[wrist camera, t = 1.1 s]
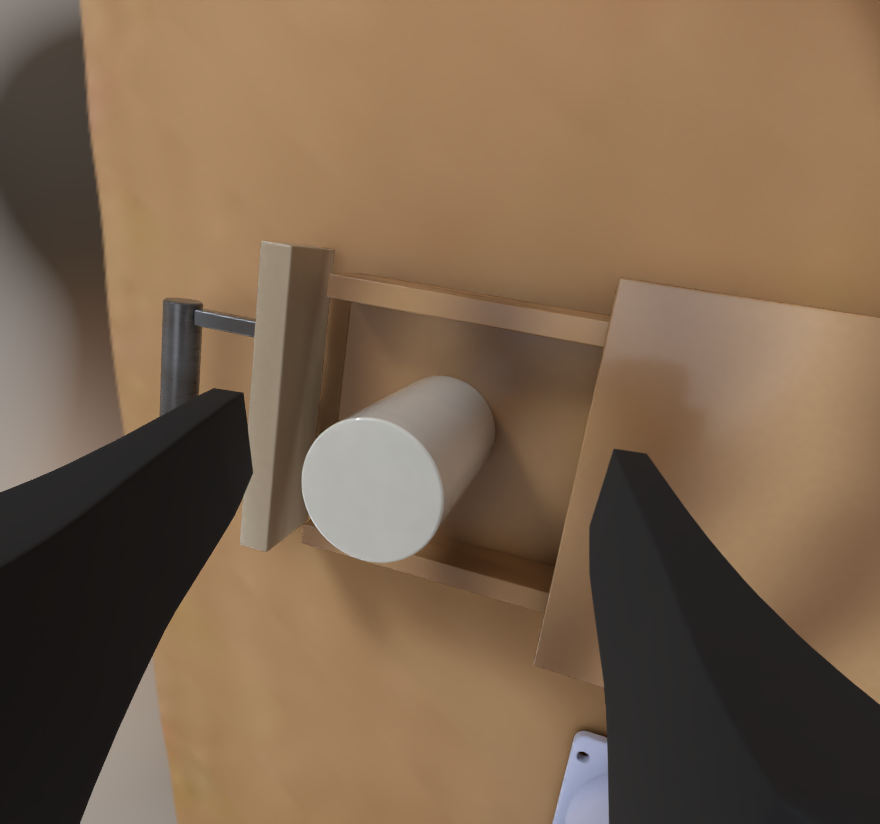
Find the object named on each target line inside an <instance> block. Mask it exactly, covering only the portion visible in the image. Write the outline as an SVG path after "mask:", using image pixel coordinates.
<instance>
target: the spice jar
mask: <svg viewBox="0 0 880 824" xmlns="http://www.w3.org/2000/svg"><path fill="white" fill-rule="evenodd" d="M494 442H495V422H494V418H493V414H492V412H491V409H490V407H489V405H488V404H487V402H486V400H485V399H484V398H483V396H482V395H481V394H480V393H479V392H478V391H477V390H476V389H475V388H473V387H472V386H471V385H469V384H468V383H466V382H464V381H462V380H460V379H457V378H454V377H450V376H437V375H436V376H429V377H425V378H422V379H420V380H417V381H415V382H413V383H412V384H410V385H408V386H406V387H404V388H402V389H400V390H398V391H396V392H394V393H393V394H391V395H389V396H387V397H385V398H383V399H381V400H379V401H377V402H375V403H373V404H372V405H370V406H368V407H366V408H364V409H362V410H360V411H358V412H356V413H354V414H352V415H351V416H349V417H347V418H345V419H343V420H341V421H339V422H337V423H335V424H334V425H332V426H330V427H329V428H327V429H326V430H325V431H324V432H322V433H321V434H320V435H319V436H318V437H317V439H316V440H315V441H314V442H313V444H312V445H311V447H310V449H309V451H308V453H307V455H306V458H305V461H304V465H303V470H302V482H301V484H302V494H303V498H304V503H305V506H306V508H307V511H308V513H309V515H310V518H311V520H312V521H313V523H314V524H315V526H316V528H317V529H318V530H319V531H320V533H321V534H322V535H323V536H324V537H325V538H326V539H327V540H328V541H329V542H330V543H331V544H332V545H334V546H335V547H336V548H337V549H339V550H341V551H342V552H344V553H346V554H348V555H350V556H352V557H354V558H357V559H360V560H363V561H368V562H375V563H389V562H394V561H399V560H402V559H405V558H408V557H410V556H412V555H414V554H415V553H417V552H418V551H420V550H421V549H422V548H423V547H425V546H426V545H427V544H428V543H429V541H430V540H431V539H432V538H433V536H434V535H435V533H436V532H437V531H438V529H439V528H440V526H441V525H442V524H443V522H444V521H445V519H446V518H447V516H448V515H449V514H450V512H451V511H452V509H453V508H454V506H455V505H456V504H457V502H458V501H459V499H460V498H461V496H462V495H463V494H464V492H465V491H466V489H467V488H468V487H469V485H470V484H471V482H472V481H473V479H474V478H475V477H476V475H477V474H478V472H479V471H480V469H481V468H482V467H483V465H484V464H485V462H486V461H487V459H488V458H489V456H490V454H491V452H492V449H493V446H494Z"/></svg>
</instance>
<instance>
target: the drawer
mask: <svg viewBox="0 0 880 824" xmlns="http://www.w3.org/2000/svg"><path fill="white" fill-rule="evenodd" d="M334 253H335V251H334V250H333V249H329V248H323V247H317V246H310V245H302V244H292V243H282V242H272V241H261V249H260V263H259V278H258V292H257V306H256V319H252V318H247V317H242V316H237V315H232V314H227V313H222V312H217V311H212V310H207V309H203V303H202V302H200V301H196V300H191V299H184V298H166V299H164V300H163V322H162V356H161V390H160V416H162V415H164V414H166V413H167V412H169V411H171V410H173V409H175V408H177V407H178V406H180V405H182V404H184V403H186V402H187V401H189V400H191V399H193V398H195V397H197V396H199V383H200V362H201V340H202V327H206V328H210V329H215V330H220V331H225V332H230V333H235V334H239V335H244V336H249V337H254V349H253V364H252V378H251V392H250V407H249V421H248V434H249V442H250V450H251V458H252V466H253V475H252V477H251V479H250V482H249V484H248V487H247V489H246V491H245V494H244V496H243V507H242V522H241V536H240V544H241V545H243V546H247V547H250V548H253V549H257V550H260V551H264V552H268V551H269V550H270V549H271V548H273V547H274V546H275V545H276V544H278V543H279V542H280V541H281V540H283V539H284V538H285V537H287V536H288V535H289V534H290V533H292V532H293V531H294V530H295V529H297V528H298V527H299V526H300V525H302V524H303V523H304V522H306V521H307V519H308V511H307V508H306V506H305V503H304V498H303V494H302V484H301V482H302V470H303V465H304V461H305V458H306V455H307V453H308V451H309V449H310V447H311V445H312V444H313V442H314V441H315V440H316V432H317V422H318V412H319V402H320V392H321V382H322V372H323V362H324V352H325V342H326V332H327V322H328V313H329V303H330V298H334V299H340V300H345V301H351V304H350V313H349V322H348V331H347V340H346V349H345V358H344V368H343V377H342V386H341V395H340V404H339V413H338V422H339V421H341V420H343V419H345V418H347V417H349V416H351V415H352V414H354V413H356V412H358V411H360V410H362V409H364V408H366V407H368V406H370V405H372V404H373V403H375V402H377V401H379V400H381V399H383V398H385V397H387V396H389V395H391V394H393V393H394V392H396V391H398V390H400V389H402V388H404V387H406V386H408V385H410V384H412V383H413V382H415V381H417V380H420V379H422V378H425V377H429V376H436V375H437V376H450V377H454V378H457V379H460V380H462V381H464V382H466V383H468V384H469V385H471V386H472V387H473V388H475V389H476V390H477V391H478V392H479V393H480V394H481V395H482V396H483V398H484V399H485V400H486V402H487V404H488V405H489V407H490V409H491V412H492V414H493V418H494V422H495V442H494V446H493V449H492V452H491V454H490V456H489V458H488V459H487V461H486V462H485V464H484V465H483V467H482V468H481V469H480V471H479V472H478V474H477V475H476V477H475V478H474V479H473V481H472V482H471V484H470V485H469V487H468V488H467V489H466V491H465V492H464V494H463V495H462V496H461V498H460V499H459V501H458V502H457V504H456V505H455V506H454V508H453V509H452V511H451V512H450V514H449V515H448V516H447V518H446V519H445V521H444V522H443V524H442V525H441V526H440V528H439V529H438V531H437V532H436V533H435V535H434V536H433V538H432V539H431V540H430V541H429V543H428V544H427V545H426V546H425V547H423V548H422V549H421V550H420V551H418V552H417V553H415V554H414V555H412V556H410V557H408V558H405V559H402V560H399V561H394V562H389V563H375V562H369V563H373V564H376V565H380V566H383V567H386V568H390V569H393V570H397V571H400V572H404V573H407V574H411V575H414V576H418V577H421V578H424V579H428V580H431V581H435V582H438V583H442V584H445V585H449V586H452V587H455V588H459V589H462V590H466V591H469V592H473V593H476V594H480V595H483V596H487V597H490V598H493V599H497V600H500V601H504V602H507V603H511V604H514V605H518V606H521V607H524V608H528V609H531V610H535V611H538V612H542V613H545V609H546V605H547V600H548V596H549V591H550V587H551V582H552V578H553V573H554V569H555V564H556V560H557V555H558V551H559V546H560V542H561V538H562V533H563V529H564V524H565V520H566V515H567V511H568V506H569V502H570V497H571V493H572V488H573V484H574V479H575V475H576V470H577V466H578V461H579V457H580V452H581V448H582V443H583V439H584V434H585V430H586V425H587V421H588V416H589V412H590V407H591V403H592V398H593V394H594V389H595V385H596V380H597V376H598V371H599V367H600V362H601V358H602V353H603V349H604V344H605V340H606V335H607V331H608V326H609V322H610V317H611V316H608V315H602V314H596V313H590V312H584V311H578V310H572V309H567V308H561V307H555V306H549V305H543V304H537V303H531V302H526V301H520V300H514V299H508V298H502V297H496V296H490V295H485V294H479V293H473V292H467V291H461V290H455V289H449V288H444V287H438V286H432V285H426V284H420V283H414V282H408V281H403V280H397V279H391V278H385V277H379V276H373V275H367V274H348V273H333V263H334ZM302 543H304V544H307V545H311V546H314V547H317V548H321V549H324V550H328V551H331V552H335V553H338V554H342V555H345V556H349V557H352V556H350V555H348V554H346V553H344V552H342V551H341V550H339V549H337V548H336V547H335V546H334V545H332V544H331V543H330V542H329V541H328V540H327V539H326V538H325V537H324V536H323V535H322V534H321V533H320V531H319V530H318V529H317V528H316V526H315V524H314V523H313V521H312V520H311V519H310V520H309V521H308V522H306V523H305V524H304V529H303V539H302ZM352 558H354V557H352ZM355 559H357V558H355ZM359 560H360V559H359ZM362 561H363V560H362ZM366 562H368V561H366Z"/></svg>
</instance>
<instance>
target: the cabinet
mask: <svg viewBox="0 0 880 824" xmlns="http://www.w3.org/2000/svg"><path fill="white" fill-rule="evenodd" d="M610 316H611V317H610V322H609V326H608V331H607V335H606V340H605V344H604V349H603V353H602V358H601V362H600V367H599V371H598V376H597V380H596V385H595V389H594V394H593V398H592V403H591V407H590V412H589V416H588V421H587V425H586V430H585V434H584V439H583V443H582V448H581V452H580V457H579V461H578V466H577V470H576V475H575V479H574V484H573V488H572V493H571V497H570V502H569V506H568V511H567V515H566V520H565V524H564V529H563V533H562V538H561V542H560V546H559V551H558V555H557V560H556V564H555V569H554V573H553V578H552V582H551V587H550V591H549V596H548V600H547V605H546V609H545V613H544V617H543V622H542V626H541V631H540V636H539V640H538V645H537V650H536V654H535V659H534V666H537V667H540V668H544V669H547V670H550V671H553V672H556V673H560V674H563V675H566V676H569V677H572V678H576V679H579V680H582V681H585V682H589V683H592V684H595V685H598V686H601V687H604V682H603V674H602V667H601V659H600V652H599V644H598V637H597V630H596V622H595V615H594V607H593V599H592V591H591V583H590V575H589V526H590V523H591V520H592V516H593V513H594V510H595V507H596V504H597V500H598V497H599V494H600V491H601V488H602V485H603V481H604V478H605V475H606V472H607V469H608V465H609V462H610V459H611V456H612V453H613V449H620V450H627V451H633V452H640V453H647V455H648V456H649V457H650V459H651V460H652V461H653V463H654V464H655V466H656V467H657V469H658V470H659V471H660V473H661V474H662V476H663V477H664V478H665V480H666V481H667V483H668V484H669V486H670V487H671V488H672V490H673V491H674V493H675V494H676V495H677V497H678V498H679V499H680V501H681V502H682V504H683V505H684V506H685V508H686V509H687V510H688V512H689V513H690V515H691V516H692V517H693V518H694V520H695V521H696V522H697V524H698V525H699V526H700V528H701V529H702V530H703V531H704V533H705V534H706V535H707V537H708V538H709V539H710V540H711V541H712V543H713V544H714V545H715V546H716V548H717V549H718V550H719V551H720V553H721V554H722V555H723V556H724V557H725V558H726V559H727V561H728V562H729V563H730V564H731V565H732V566H733V568H734V569H735V570H736V571H737V572H738V573H739V574H740V576H741V577H742V578H743V579H744V580H745V581H746V582H747V583H748V585H749V586H750V587H751V588H752V589H753V590H754V591H755V592H756V593H757V594H758V595H759V596H760V597H761V598H762V599H763V600H764V601H765V602H766V603H767V604H768V605H769V606H770V607H771V608H772V609H773V610H774V611H775V612H776V613H777V614H778V615H779V616H780V617H781V618H782V619H783V620H784V621H785V622H786V623H787V624H788V625H789V626H790V627H791V628H792V629H793V630H794V631H795V632H796V633H797V634H798V635H799V636H800V637H801V638H803V639H804V640H805V641H806V642H807V643H808V644H809V645H810V646H811V647H812V648H814V649H815V650H816V651H817V652H818V653H819V654H820V655H822V656H823V657H824V658H825V659H826V660H827V661H828V662H830V663H831V664H832V665H833V666H834V667H835V668H836V669H838V670H839V671H840V672H841V673H842V674H843V675H844V676H846V677H847V678H848V679H849V680H850V681H852V682H853V683H854V684H855V685H856V686H858V687H859V688H860V689H861V690H863V691H864V692H865V693H866V694H868V695H869V696H870V697H871V698H872V699H874V700H875V701H876V702H877V703H879V704H880V318H878V317H872V316H865V315H859V314H853V313H846V312H840V311H833V310H827V309H820V308H814V307H808V306H801V305H795V304H788V303H782V302H775V301H769V300H763V299H756V298H750V297H743V296H737V295H730V294H724V293H718V292H711V291H705V290H698V289H692V288H685V287H679V286H673V285H666V284H660V283H653V282H647V281H640V280H634V279H628V278H621V277H620V278H619V279H618V283H617V287H616V292H615V296H614V301H613V305H612V310H611V314H610Z"/></svg>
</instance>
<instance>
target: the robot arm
mask: <svg viewBox="0 0 880 824" xmlns="http://www.w3.org/2000/svg"><path fill="white" fill-rule="evenodd" d="M252 475H253V466H252V458H251V450H250V442H249V434H248V426H247V418H246V410H245V402H244V393H241V392H235V391H228V390H221V389H215V388H213V389H211V390H209V391H207V392H205V393H203V394H201V395H199V396H197V397H195V398H193V399H191V400H189V401H187V402H186V403H184V404H182V405H180V406H178V407H177V408H175V409H173V410H171V411H169V412H167V413H166V414H164V415H162V416H160V417H158V418H157V419H155V420H153V421H151V422H149V423H147V424H146V425H144V426H142V427H140V428H138V429H136V430H134V431H133V432H131V433H129V434H127V435H125V436H123V437H122V438H120V439H118V440H116V441H114V442H112V443H110V444H108V445H106V446H104V447H102V448H99V449H97V450H95V451H93V452H91V453H89V454H87V455H85V456H83V457H81V458H79V459H77V460H75V461H73V462H71V463H69V464H67V465H65V466H63V467H60V468H58V469H56V470H54V471H52V472H49V473H47V474H45V475H42V476H40V477H38V478H36V479H33V480H30V481H28V482H26V483H23V484H20V485H18V486H16V487H13V488H11V489H8V490H6V491H3V492H0V824H80V821H81V819H82V816H83V814H84V811H85V809H86V806H87V804H88V801H89V798H90V796H91V793H92V791H93V788H94V786H95V783H96V781H97V779H98V776H99V774H100V771H101V769H102V767H103V764H104V762H105V760H106V757H107V755H108V752H109V750H110V748H111V745H112V743H113V741H114V738H115V736H116V733H117V731H118V729H119V727H120V724H121V722H122V720H123V718H124V716H125V713H126V711H127V709H128V707H129V705H130V703H131V700H132V698H133V696H134V694H135V691H136V689H137V687H138V685H139V683H140V681H141V678H142V676H143V674H144V672H145V670H146V668H147V666H148V664H149V662H150V660H151V658H152V656H153V654H154V652H155V650H156V647H157V645H158V643H159V641H160V639H161V637H162V635H163V633H164V631H165V629H166V627H167V626H168V624H169V622H170V620H171V619H172V617H173V615H174V613H175V611H176V610H177V608H178V606H179V605H180V603H181V602H182V600H183V598H184V597H185V595H186V594H187V592H188V590H189V589H190V587H191V586H192V584H193V582H194V581H195V579H196V577H197V576H198V574H199V573H200V571H201V569H202V568H203V566H204V565H205V563H206V561H207V560H208V558H209V557H210V555H211V553H212V552H213V550H214V549H215V547H216V545H217V544H218V542H219V541H220V539H221V537H222V536H223V534H224V532H225V531H226V529H227V527H228V526H229V524H230V522H231V521H232V519H233V517H234V516H235V514H236V511H237V509H238V507H239V505H240V503H241V501H242V498H243V496H244V494H245V491H246V489H247V487H248V484H249V482H250V479H251V477H252ZM589 575H590V583H591V591H592V599H593V607H594V615H595V622H596V630H597V637H598V644H599V652H600V659H601V667H602V674H603V682H604V691H605V702H606V721H607V737H604V736H601V735H597V734H594V733H591V732H588V731H580V732H578V733H576V735H575V736H574V739H573V743H572V747H571V751H570V755H569V759H568V763H567V767H566V771H565V775H564V779H563V783H562V787H561V791H560V795H559V799H558V803H557V807H556V811H555V815H554V819H553V823H552V824H880V704H879V703H877V702H876V701H875V700H874V699H872V698H871V697H870V696H869V695H868V694H866V693H865V692H864V691H863V690H861V689H860V688H859V687H858V686H856V685H855V684H854V683H853V682H852V681H850V680H849V679H848V678H847V677H846V676H844V675H843V674H842V673H841V672H840V671H839V670H838V669H836V668H835V667H834V666H833V665H832V664H831V663H830V662H828V661H827V660H826V659H825V658H824V657H823V656H822V655H820V654H819V653H818V652H817V651H816V650H815V649H814V648H812V647H811V646H810V645H809V644H808V643H807V642H806V641H805V640H804V639H803V638H801V637H800V636H799V635H798V634H797V633H796V632H795V631H794V630H793V629H792V628H791V627H790V626H789V625H788V624H787V623H786V622H785V621H784V620H783V619H782V618H781V617H780V616H779V615H778V614H777V613H776V612H775V611H774V610H773V609H772V608H771V607H770V606H769V605H768V604H767V603H766V602H765V601H764V600H763V599H762V598H761V597H760V596H759V595H758V594H757V593H756V592H755V591H754V590H753V589H752V588H751V587H750V586H749V585H748V583H747V582H746V581H745V580H744V579H743V578H742V577H741V576H740V574H739V573H738V572H737V571H736V570H735V569H734V568H733V566H732V565H731V564H730V563H729V562H728V561H727V559H726V558H725V557H724V556H723V555H722V554H721V553H720V551H719V550H718V549H717V548H716V546H715V545H714V544H713V543H712V541H711V540H710V539H709V538H708V537H707V535H706V534H705V533H704V531H703V530H702V529H701V528H700V526H699V525H698V524H697V522H696V521H695V520H694V518H693V517H692V516H691V515H690V513H689V512H688V510H687V509H686V508H685V506H684V505H683V504H682V502H681V501H680V499H679V498H678V497H677V495H676V494H675V493H674V491H673V490H672V488H671V487H670V486H669V484H668V483H667V481H666V480H665V478H664V477H663V476H662V474H661V473H660V471H659V470H658V469H657V467H656V466H655V464H654V463H653V461H652V460H651V459H650V457H649V456H648V455H647V453H640V452H633V451H627V450H620V449H613V453H612V456H611V459H610V462H609V465H608V469H607V472H606V475H605V478H604V481H603V485H602V488H601V491H600V494H599V497H598V500H597V504H596V507H595V510H594V513H593V516H592V520H591V523H590V526H589ZM579 752H585V753H587V754H588V755H586V756H585V755H581V754H579Z"/></svg>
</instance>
